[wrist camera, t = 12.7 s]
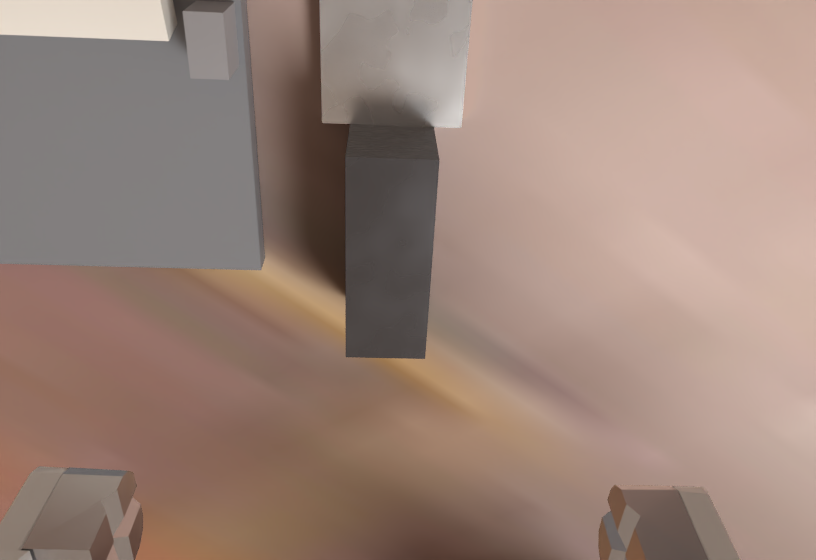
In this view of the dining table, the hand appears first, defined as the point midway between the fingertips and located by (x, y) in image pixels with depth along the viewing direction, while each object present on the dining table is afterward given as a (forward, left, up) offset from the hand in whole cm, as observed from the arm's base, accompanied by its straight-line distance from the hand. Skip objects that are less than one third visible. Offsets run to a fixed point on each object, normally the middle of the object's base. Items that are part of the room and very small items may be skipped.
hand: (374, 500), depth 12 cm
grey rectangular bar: (0, -1, -17) cm, 17 cm away
